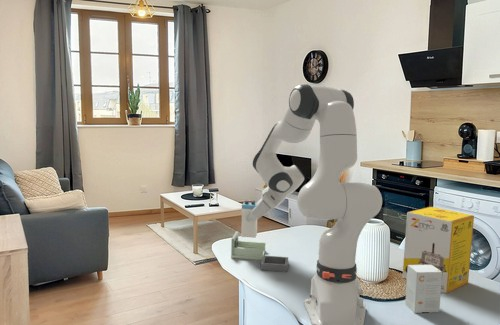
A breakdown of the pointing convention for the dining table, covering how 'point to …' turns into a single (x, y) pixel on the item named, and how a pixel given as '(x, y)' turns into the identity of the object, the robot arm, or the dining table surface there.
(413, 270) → the small box
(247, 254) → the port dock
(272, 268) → the frame
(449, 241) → the packaging box
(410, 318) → the dining table surface
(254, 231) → the plug block
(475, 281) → the dining table surface
